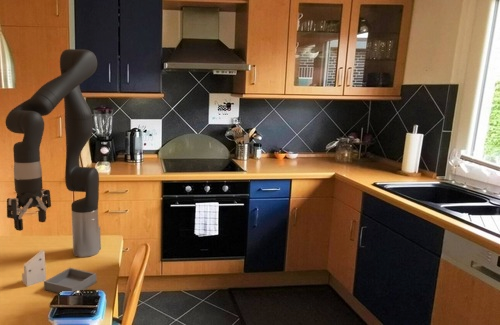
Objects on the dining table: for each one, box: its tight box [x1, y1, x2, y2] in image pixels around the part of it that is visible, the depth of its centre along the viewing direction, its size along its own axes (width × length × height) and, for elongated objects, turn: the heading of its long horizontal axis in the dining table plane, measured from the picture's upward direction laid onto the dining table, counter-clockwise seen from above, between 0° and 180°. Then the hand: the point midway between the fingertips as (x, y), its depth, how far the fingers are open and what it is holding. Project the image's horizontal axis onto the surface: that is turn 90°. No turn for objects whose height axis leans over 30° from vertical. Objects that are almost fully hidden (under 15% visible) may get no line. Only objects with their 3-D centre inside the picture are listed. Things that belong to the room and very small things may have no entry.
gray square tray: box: [43, 267, 98, 295], centre depth 126 cm, size 11×11×3 cm
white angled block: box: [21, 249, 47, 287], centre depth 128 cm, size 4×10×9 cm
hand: (31, 225), depth 125 cm, fingers open, 8 cm apart
